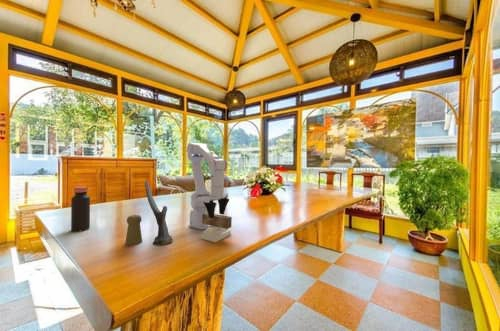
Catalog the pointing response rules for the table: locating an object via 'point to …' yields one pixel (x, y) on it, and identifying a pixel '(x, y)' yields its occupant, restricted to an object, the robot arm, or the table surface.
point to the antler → (159, 220)
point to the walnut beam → (217, 220)
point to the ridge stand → (215, 233)
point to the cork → (133, 230)
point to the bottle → (80, 210)
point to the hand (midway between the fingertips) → (216, 215)
